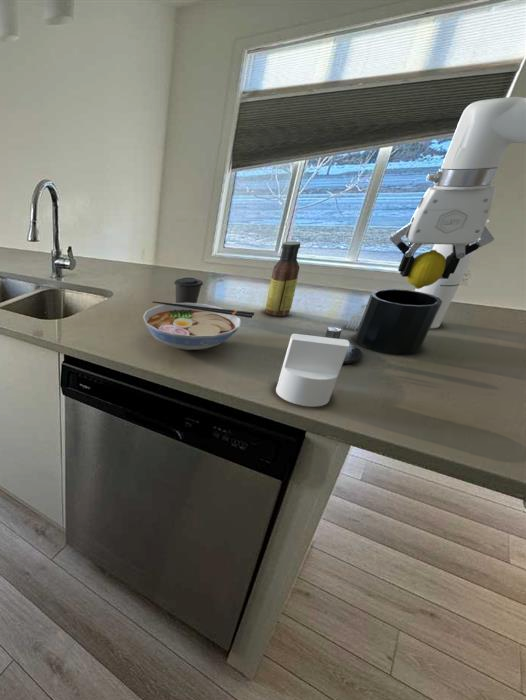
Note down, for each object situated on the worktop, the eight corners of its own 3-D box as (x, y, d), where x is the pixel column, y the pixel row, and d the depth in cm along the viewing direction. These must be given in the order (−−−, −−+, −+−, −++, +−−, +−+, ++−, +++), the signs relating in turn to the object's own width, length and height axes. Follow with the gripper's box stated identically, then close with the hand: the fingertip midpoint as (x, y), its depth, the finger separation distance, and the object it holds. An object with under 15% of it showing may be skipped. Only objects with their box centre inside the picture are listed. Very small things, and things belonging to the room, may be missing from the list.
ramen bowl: (121, 350, 104) (123, 321, 100) (157, 321, 119) (160, 294, 115) (224, 374, 90) (231, 341, 86) (251, 338, 105) (258, 308, 100)
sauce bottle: (288, 310, 118) (307, 240, 108) (289, 318, 113) (309, 245, 103) (263, 308, 121) (279, 239, 111) (263, 316, 116) (280, 244, 106)
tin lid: (357, 346, 96) (366, 322, 93) (364, 370, 87) (374, 344, 84) (294, 338, 102) (300, 316, 99) (294, 360, 93) (301, 335, 90)
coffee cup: (196, 317, 119) (201, 284, 114) (167, 314, 123) (171, 281, 118) (201, 308, 125) (206, 276, 120) (174, 305, 129) (178, 274, 124)
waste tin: (413, 337, 97) (434, 291, 92) (424, 358, 89) (448, 308, 83) (352, 331, 103) (368, 287, 97) (357, 350, 95) (375, 303, 89)
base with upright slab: (274, 400, 80) (290, 345, 74) (277, 379, 86) (291, 327, 80) (330, 410, 76) (351, 353, 70) (328, 388, 82) (347, 334, 76)
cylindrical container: (404, 316, 108) (447, 216, 96) (441, 321, 104) (490, 218, 91) (399, 324, 104) (442, 221, 92) (437, 330, 100) (488, 223, 87)
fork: (374, 315, 116) (378, 306, 114) (357, 330, 103) (361, 320, 102) (362, 313, 117) (366, 304, 116) (343, 328, 105) (347, 317, 104)
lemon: (439, 288, 84) (456, 248, 80) (431, 294, 82) (448, 254, 78) (405, 283, 88) (420, 245, 84) (396, 289, 86) (411, 251, 82)
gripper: (407, 183, 76) (373, 278, 85) (541, 178, 68) (487, 284, 77) (399, 179, 81) (367, 269, 90) (522, 174, 73) (474, 273, 82)
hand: (423, 275), depth 84 cm, fingers closed on lemon, 5 cm apart
